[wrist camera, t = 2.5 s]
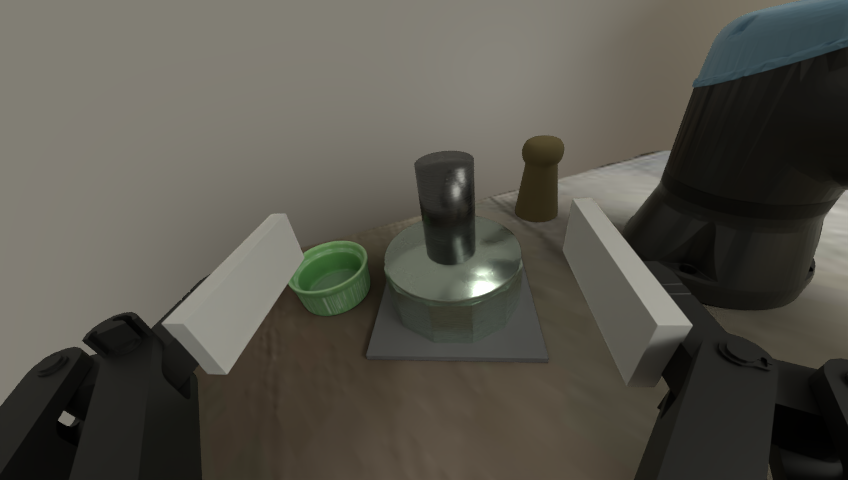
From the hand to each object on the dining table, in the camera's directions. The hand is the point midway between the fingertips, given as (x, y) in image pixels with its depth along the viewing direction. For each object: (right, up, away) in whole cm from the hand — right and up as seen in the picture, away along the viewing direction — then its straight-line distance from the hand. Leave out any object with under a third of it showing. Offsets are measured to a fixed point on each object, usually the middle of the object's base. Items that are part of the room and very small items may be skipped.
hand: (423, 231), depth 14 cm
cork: (+17, +4, +31) cm, 36 cm away
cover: (+3, -6, +19) cm, 20 cm away
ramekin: (-10, -7, +22) cm, 25 cm away
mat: (+3, -7, +19) cm, 20 cm away
